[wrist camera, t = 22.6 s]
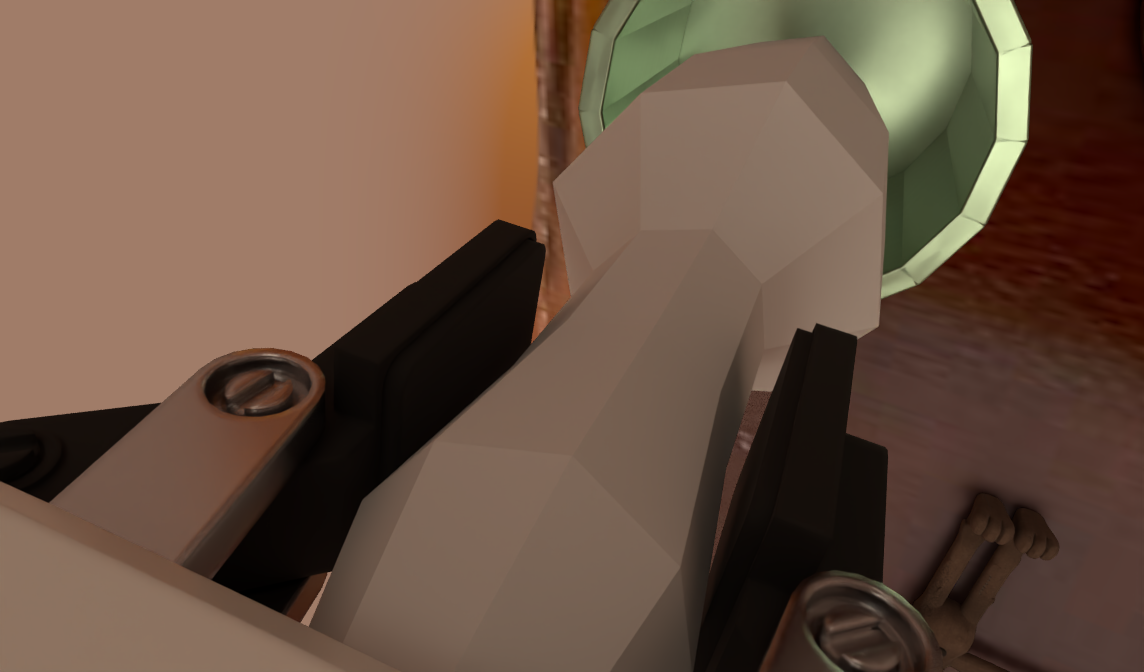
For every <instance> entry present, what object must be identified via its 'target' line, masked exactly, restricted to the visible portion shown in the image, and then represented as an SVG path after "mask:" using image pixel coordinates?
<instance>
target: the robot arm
mask: <svg viewBox="0 0 1144 672" xmlns="http://www.w3.org/2000/svg"><path fill="white" fill-rule="evenodd" d="M545 253H546V249H545V245H544V244H541V243H538V242H536V233H535V231H533V230H529V229H526V228H523V227H520V226H517V225H514V224H511V223H508V222H505V221H502V220H499V219H498V220H496V221H494V222H493V223H492V224H491V225H489V226H488V227H487V228H485V229H484V230H483V231H482V232H480V233H479V234H478V235H477V236H475V237H474V238H473V239H471V240H470V241H469V242H467V243H466V244H465V245H464V246H462V247H461V248H460V249H459V250H457V251H456V252H455V253H453V254H452V255H451V256H450V257H448V258H447V259H446V260H444V261H443V262H442V263H441V264H439V265H438V266H437V267H435V268H434V269H433V270H432V271H430V272H429V273H428V274H426V275H425V276H424V277H423V278H421V279H420V280H419V281H417V282H415V283H413V284H411V285H409V286H407V287H406V288H405V289H403V290H402V291H401V292H399V293H398V294H397V295H396V296H394V297H393V298H392V299H390V300H389V301H388V302H387V303H385V304H384V305H383V306H382V307H380V308H379V309H377V310H376V311H375V312H374V313H372V314H371V315H370V316H368V317H367V318H366V319H365V320H363V321H362V322H361V323H359V324H358V325H357V326H356V327H354V328H353V329H352V330H351V331H349V332H348V333H347V334H345V335H344V336H343V337H341V338H340V339H339V340H337V341H336V342H335V343H334V344H332V345H331V346H330V347H328V348H327V349H326V350H325V351H323V352H322V353H321V354H319V355H318V356H317V357H315V358H314V359H313V360H312V361H311V360H310V359H309V358H307V357H305V356H302V355H300V354H297V353H294V352H292V351H286V350H280V349H274V348H261V349H260V348H253V349H248V350H242V351H236V352H232V353H230V354H227V355H224V356H221V357H219V358H216V359H214V360H213V361H211V362H210V363H208V364H207V365H205V366H204V367H202V368H201V369H200V370H198V371H197V372H196V373H195V374H194V375H193V376H192V377H191V378H189V379H188V380H187V381H186V382H185V383H184V384H182V386H181V387H179V388H178V389H177V390H176V391H175V392H173V393H172V394H171V395H170V396H169V397H168V398H167V399H166V400H164V401H163V402H162V403H156V404H148V405H139V406H130V407H122V408H113V409H105V410H97V411H88V412H79V413H71V414H63V415H54V416H45V417H37V418H28V419H20V420H12V421H6V422H0V672H401V671H399V670H397V669H395V668H393V667H391V666H389V665H386V664H384V663H382V662H380V661H378V660H376V659H374V658H372V657H370V656H368V655H366V654H364V653H362V652H360V651H357V650H355V649H353V648H351V647H349V646H347V645H345V644H343V643H341V642H339V641H337V640H335V639H333V638H330V637H328V636H326V635H324V634H322V633H320V632H318V631H316V630H314V629H312V628H310V627H308V626H306V625H303V624H301V621H302V619H303V618H304V616H305V614H306V613H307V611H308V610H309V608H310V606H311V605H312V603H313V601H314V600H315V598H316V597H317V595H318V593H319V592H320V590H321V588H322V586H323V584H324V581H325V579H326V576H327V572H331V571H332V570H333V568H334V566H335V563H336V561H337V559H338V556H339V554H340V552H341V549H342V547H343V544H344V542H345V540H346V537H347V535H348V533H349V530H350V528H351V525H352V523H353V521H354V518H355V516H356V514H357V511H358V509H359V507H360V504H361V502H362V500H363V499H364V498H365V497H366V496H367V495H369V494H370V493H371V492H372V491H373V490H374V489H375V488H376V487H377V486H379V485H380V484H381V483H382V482H383V481H384V480H385V479H386V478H388V477H389V476H390V475H391V474H392V473H393V472H394V471H395V470H397V469H398V468H399V467H400V466H401V465H402V464H403V463H404V462H405V461H407V460H408V459H409V458H410V457H411V456H412V455H413V454H414V453H416V452H417V451H418V450H419V449H420V448H421V447H422V446H423V445H425V444H426V443H427V442H428V441H429V440H430V439H431V438H432V437H434V436H435V435H436V434H437V433H438V432H439V431H440V430H441V429H442V428H444V427H445V426H446V425H447V424H448V423H449V422H450V421H451V420H453V419H454V418H455V417H456V416H457V415H458V414H459V413H460V412H462V411H463V410H464V409H465V408H466V407H467V406H468V405H469V404H470V403H472V402H473V401H474V400H475V399H476V398H477V397H478V396H479V395H481V394H482V393H483V392H484V391H485V390H486V389H487V388H488V387H490V386H491V385H492V384H493V383H494V382H495V381H496V380H497V379H498V378H500V377H501V376H502V375H503V374H504V373H505V372H506V371H507V370H509V369H510V368H511V367H512V366H513V365H514V364H515V363H516V361H517V360H518V359H519V358H520V357H521V356H522V354H523V353H524V352H525V351H526V350H527V349H528V347H529V346H530V345H531V339H532V333H533V327H534V321H535V315H536V309H537V303H538V297H539V291H540V285H541V279H542V273H543V267H544V260H545ZM856 346H857V336H855V335H852V334H849V333H846V332H843V331H840V330H837V329H834V328H831V327H827V326H824V325H821V324H818V323H816V325H815V327H814V329H813V331H812V332H809V331H806V330H803V329H800V328H797V330H796V332H795V334H794V337H793V339H792V342H791V344H790V347H789V350H788V352H787V355H786V357H785V360H784V363H783V365H782V368H781V370H780V373H779V375H778V378H777V381H776V383H775V386H774V388H773V391H772V394H771V396H770V399H769V401H768V404H767V407H766V409H765V412H764V414H763V417H762V419H761V422H760V425H759V427H758V430H757V432H756V435H755V438H754V440H753V443H752V445H751V448H750V451H749V453H748V456H747V458H746V461H745V463H744V466H743V469H742V471H741V474H740V477H739V479H738V482H737V485H736V488H735V491H734V494H733V497H732V500H731V504H730V507H729V510H728V514H727V517H726V520H725V524H724V527H723V530H722V534H721V537H720V540H719V544H718V547H717V550H716V554H715V557H714V560H713V564H712V567H711V570H710V574H709V577H708V583H707V589H706V595H705V601H704V608H703V614H702V620H701V626H700V632H699V639H698V645H697V651H696V657H695V663H694V670H693V672H943V655H942V652H941V649H940V647H939V644H938V642H937V639H936V636H935V634H934V632H933V631H932V629H931V628H930V627H929V625H928V624H927V622H926V621H925V620H924V618H923V617H922V615H921V614H920V613H919V612H918V611H917V610H916V609H915V608H914V607H913V606H912V605H910V604H909V603H908V602H907V601H906V600H905V599H904V598H903V597H902V596H901V595H899V594H897V593H896V592H894V591H893V590H891V589H890V588H888V587H886V586H885V585H883V584H882V582H883V559H884V536H885V514H886V491H887V468H888V451H887V449H886V448H885V447H883V446H881V445H878V444H875V443H872V442H869V441H867V440H864V439H861V438H858V437H855V436H852V435H850V434H847V433H846V427H847V418H848V410H849V402H850V394H851V386H852V378H853V370H854V362H855V354H856Z"/></svg>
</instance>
